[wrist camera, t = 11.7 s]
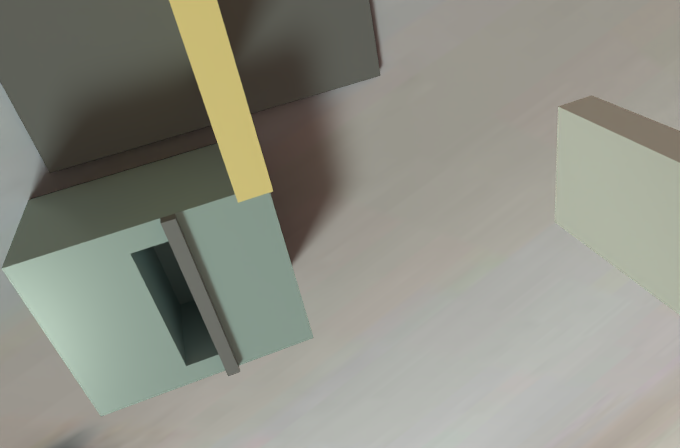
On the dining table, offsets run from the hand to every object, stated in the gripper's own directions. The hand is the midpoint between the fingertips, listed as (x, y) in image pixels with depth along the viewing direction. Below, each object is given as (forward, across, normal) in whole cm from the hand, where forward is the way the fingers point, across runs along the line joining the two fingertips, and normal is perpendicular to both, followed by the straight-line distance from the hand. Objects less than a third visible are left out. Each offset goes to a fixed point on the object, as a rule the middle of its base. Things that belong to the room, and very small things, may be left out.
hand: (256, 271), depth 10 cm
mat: (+27, +1, 0) cm, 27 cm away
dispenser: (+27, -5, -14) cm, 30 cm away
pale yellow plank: (+26, +1, 0) cm, 26 cm away
